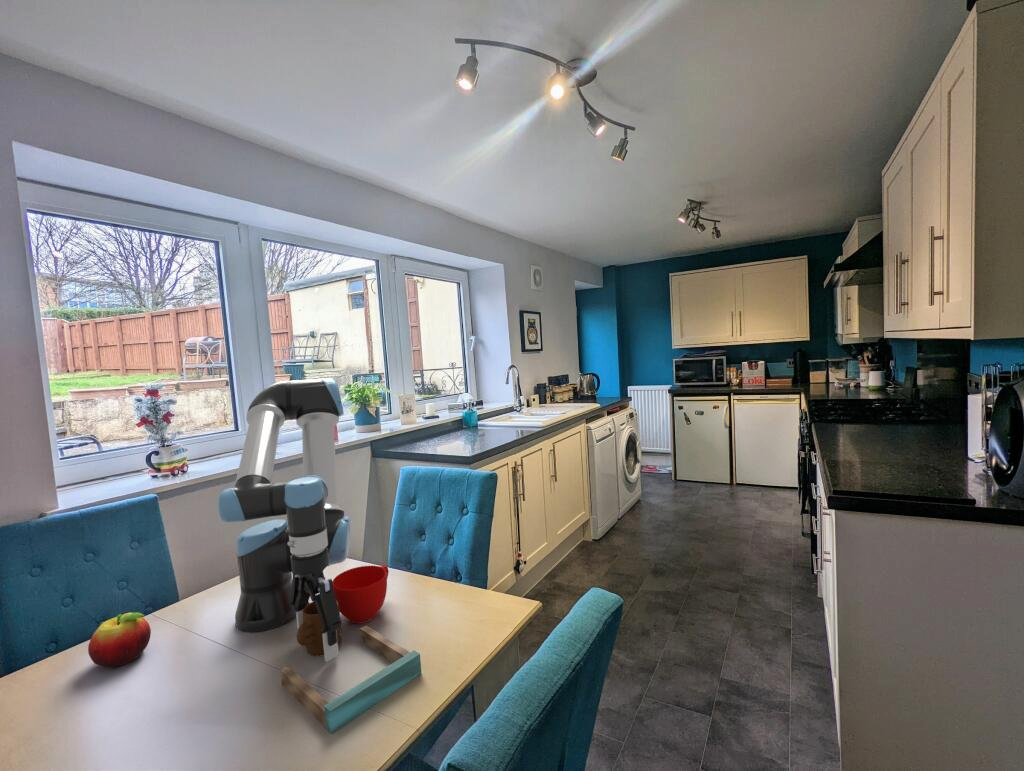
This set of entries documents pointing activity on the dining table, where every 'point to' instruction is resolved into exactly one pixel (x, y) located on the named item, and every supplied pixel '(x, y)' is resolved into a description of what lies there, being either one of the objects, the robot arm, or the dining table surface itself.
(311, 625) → the mug
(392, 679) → the u-shaped wooden frame
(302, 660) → the dining table surface
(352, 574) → the red bowl
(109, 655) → the fruit
